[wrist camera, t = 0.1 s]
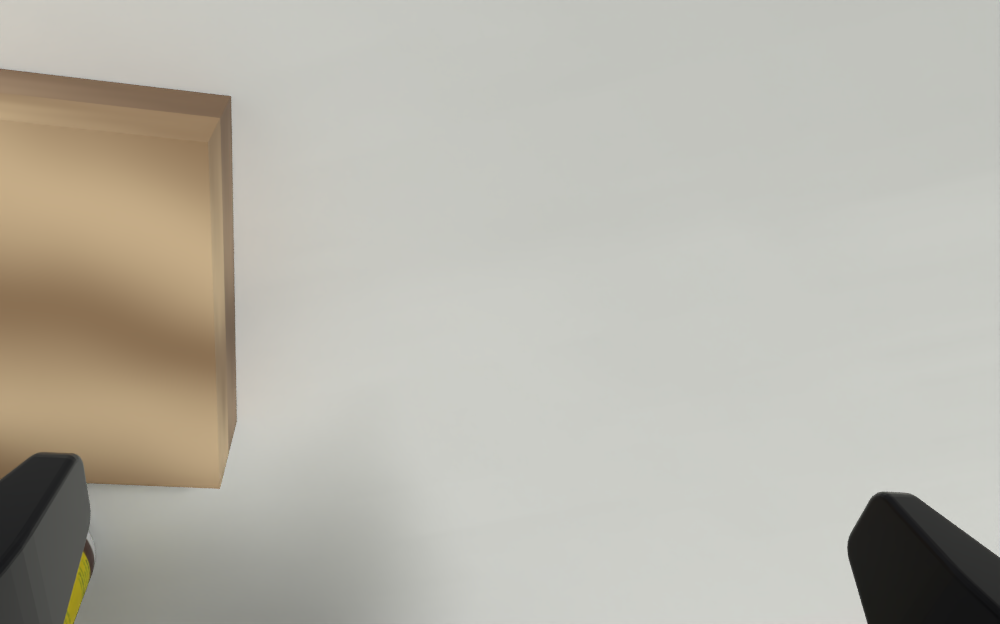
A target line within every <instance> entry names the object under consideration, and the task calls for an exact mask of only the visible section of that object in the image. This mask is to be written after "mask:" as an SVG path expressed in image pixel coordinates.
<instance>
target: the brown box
mask: <svg viewBox="0 0 1000 624" xmlns="http://www.w3.org/2000/svg"><path fill="white" fill-rule="evenodd" d="M236 422H237V414H236V356H235V298H234V240H233V182H232V124H231V96H224V95H215V94H207V93H198V92H190V91H182V90H173V89H165V88H156V87H148V86H139V85H131V84H123V83H114V82H106V81H97V80H89V79H81V78H72V77H64V76H55V75H47V74H38V73H30V72H22V71H13V70H5V69H0V479H1V478H3V477H4V476H5V475H6V474H8V473H9V472H10V471H12V470H13V469H14V468H16V467H17V466H18V465H19V464H21V463H22V462H23V461H25V460H26V459H27V458H29V457H30V456H32V455H34V454H36V453H39V452H57V453H74V454H77V455H78V456H80V458H81V459H82V461H83V465H84V471H85V477H86V483H97V484H121V485H145V486H169V487H193V488H217V489H220V486H221V482H222V478H223V474H224V470H225V466H226V462H227V458H228V454H229V450H230V446H231V442H232V438H233V434H234V430H235V426H236Z"/></svg>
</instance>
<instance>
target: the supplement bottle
mask: <svg viewBox="0 0 1000 624" xmlns="http://www.w3.org/2000/svg"><path fill="white" fill-rule="evenodd" d="M94 564H95V546H94V542H93V539H92V537H91V535H90V533H89V531H88V534H87V538H86V542H85V546H84V549H83V553H82V557H81V560H80V564H79V568H78V572H77V575H76V579H75V583H74V586H73V590H72V594H71V598H70V601H69V605H68V609H67V612H66V616H65V620H64V624H74V621H75V618H76V615H77V613H78V610H79V607H80V605H81V602H82V599H83V596H84V594H85V591H86V589H87V586H88V583H89V580H90V578H91V575H92V572H93V568H94Z"/></svg>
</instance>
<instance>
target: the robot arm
mask: <svg viewBox="0 0 1000 624" xmlns="http://www.w3.org/2000/svg"><path fill="white" fill-rule="evenodd" d="M89 525H90V503H89V496H88V490H87V484H86V477H85V471H84V465H83V461H82V459H81V458H80V456H78V455H77V454H74V453H57V452H39V453H36V454H34V455H32V456H30V457H29V458H27V459H26V460H25V461H23V462H22V463H21V464H19V465H18V466H17V467H16V468H14V469H13V470H12V471H10V472H9V473H8V474H6V475H5V476H4V477H3V478H1V479H0V624H64V620H65V616H66V612H67V609H68V605H69V601H70V598H71V594H72V590H73V586H74V583H75V579H76V575H77V572H78V568H79V564H80V560H81V557H82V553H83V549H84V546H85V542H86V538H87V534H88V530H89ZM847 549H848V557H849V561H850V565H851V568H852V572H853V575H854V578H855V582H856V585H857V589H858V592H859V596H860V599H861V603H862V606H863V610H864V613H865V616H866V620H867V623H868V624H1000V557H998V556H997V555H995V554H994V553H993V552H991V551H990V550H989V549H987V548H986V547H984V546H983V545H982V544H980V543H979V542H978V541H976V540H975V539H974V538H972V537H971V536H969V535H968V534H967V533H965V532H964V531H963V530H961V529H960V528H958V527H957V526H956V525H954V524H953V523H952V522H950V521H949V520H947V519H946V518H945V517H943V516H942V515H941V514H939V513H938V512H936V511H935V510H934V509H932V508H931V507H930V506H928V505H927V504H926V503H924V502H923V501H921V500H920V499H919V498H917V497H916V496H914V495H912V494H909V493H900V492H879V493H877V494H875V495H874V496H872V498H871V499H870V500H869V502H868V504H867V506H866V507H865V509H864V511H863V513H862V514H861V516H860V518H859V520H858V521H857V523H856V525H855V527H854V528H853V530H852V532H851V534H850V536H849V539H848V547H847Z"/></svg>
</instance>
